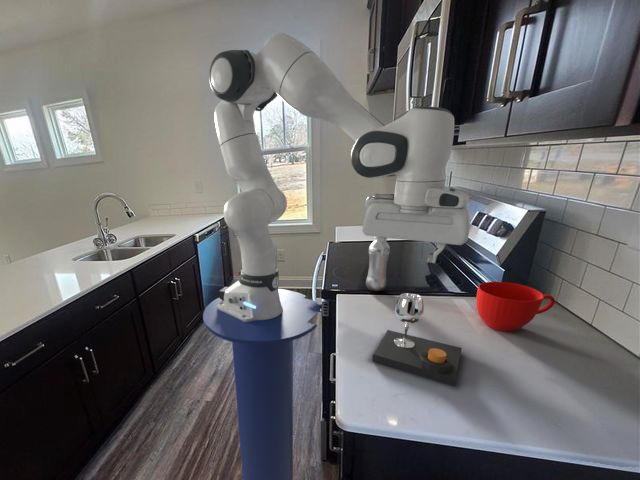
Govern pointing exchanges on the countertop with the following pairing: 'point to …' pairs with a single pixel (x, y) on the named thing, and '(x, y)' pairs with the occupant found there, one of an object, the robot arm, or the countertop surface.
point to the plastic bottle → (377, 267)
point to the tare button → (437, 355)
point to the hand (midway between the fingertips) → (407, 258)
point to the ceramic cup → (509, 304)
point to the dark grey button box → (418, 357)
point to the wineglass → (408, 315)
